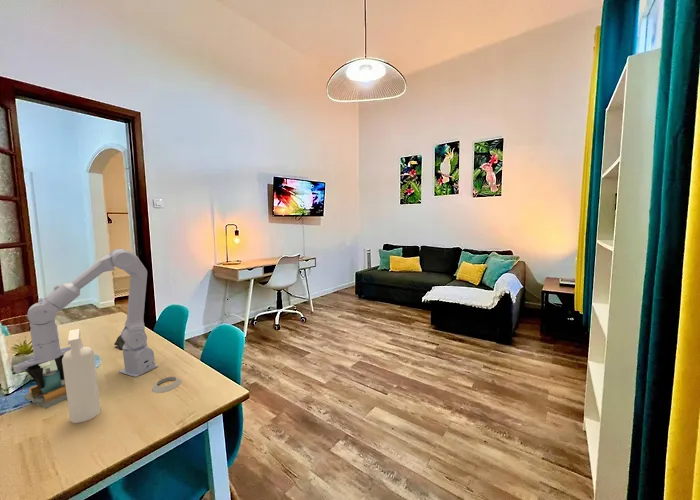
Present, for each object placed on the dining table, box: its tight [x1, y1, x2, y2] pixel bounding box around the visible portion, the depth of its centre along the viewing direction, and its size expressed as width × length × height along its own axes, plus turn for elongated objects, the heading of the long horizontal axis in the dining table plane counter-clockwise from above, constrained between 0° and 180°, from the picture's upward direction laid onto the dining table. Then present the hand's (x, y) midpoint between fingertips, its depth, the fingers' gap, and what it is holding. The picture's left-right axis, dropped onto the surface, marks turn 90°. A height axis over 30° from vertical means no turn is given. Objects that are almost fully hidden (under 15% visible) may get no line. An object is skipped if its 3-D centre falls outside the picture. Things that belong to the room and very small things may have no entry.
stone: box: [113, 334, 125, 351], centre depth 130 cm, size 7×13×5 cm, turn 26°
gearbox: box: [24, 379, 67, 409], centre depth 94 cm, size 12×11×4 cm
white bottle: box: [62, 328, 102, 424], centre depth 83 cm, size 7×12×25 cm, turn 38°
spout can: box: [41, 367, 62, 393], centre depth 93 cm, size 4×4×6 cm
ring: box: [151, 376, 183, 394], centre depth 98 cm, size 8×8×2 cm
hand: (52, 383), depth 93 cm, fingers closed on spout can, 4 cm apart
